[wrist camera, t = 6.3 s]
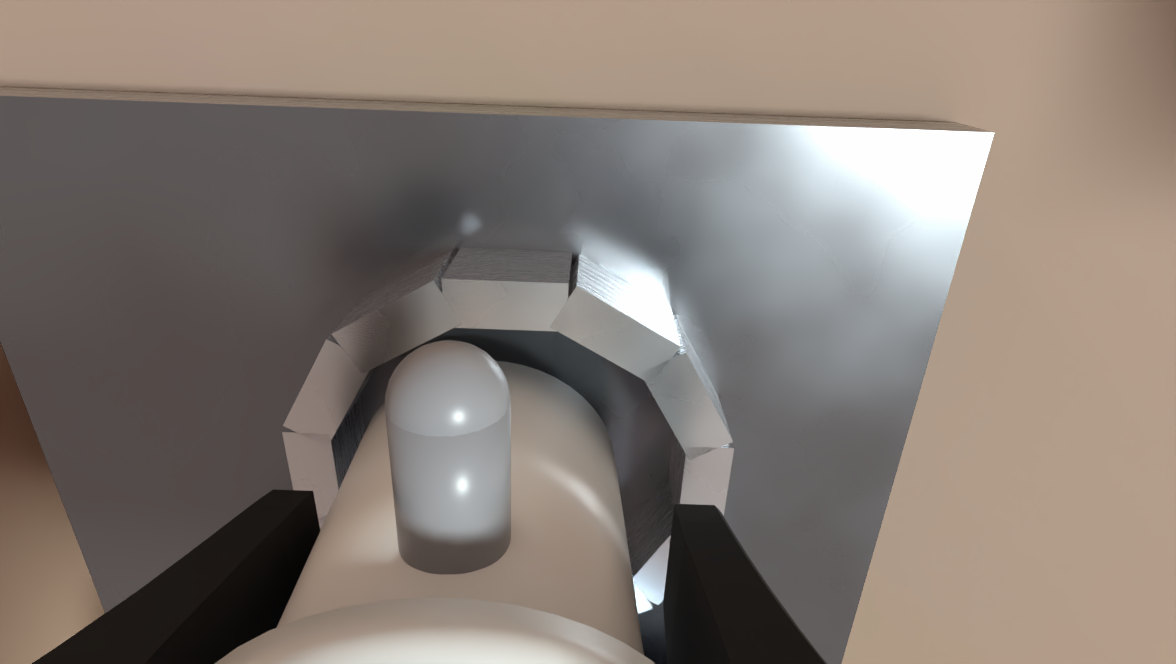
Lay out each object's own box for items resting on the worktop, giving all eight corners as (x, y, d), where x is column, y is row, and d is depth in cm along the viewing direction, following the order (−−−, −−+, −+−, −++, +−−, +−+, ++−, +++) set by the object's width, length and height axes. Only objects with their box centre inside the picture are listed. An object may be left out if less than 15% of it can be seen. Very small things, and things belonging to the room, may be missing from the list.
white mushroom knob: (633, 587, 13) (691, 988, 8) (346, 588, 13) (193, 1012, 7) (670, 232, 10) (815, 483, 5) (291, 220, 10) (-48, 478, 4)
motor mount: (786, 769, 19) (885, 1158, 12) (199, 748, 19) (-11, 1129, 12) (955, 122, 11) (1444, 255, 5) (-30, 85, 11) (-892, 169, 5)
